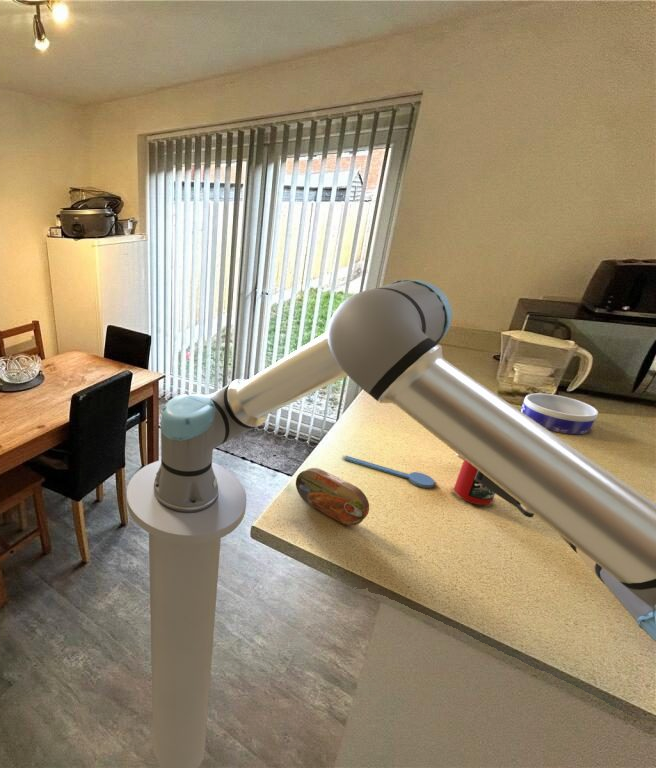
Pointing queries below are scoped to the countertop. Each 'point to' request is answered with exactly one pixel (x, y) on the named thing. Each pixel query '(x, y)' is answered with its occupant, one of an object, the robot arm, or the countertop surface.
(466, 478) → the beverage can
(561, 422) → the dog bowl
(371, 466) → the spoon
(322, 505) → the tin
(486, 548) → the countertop surface
